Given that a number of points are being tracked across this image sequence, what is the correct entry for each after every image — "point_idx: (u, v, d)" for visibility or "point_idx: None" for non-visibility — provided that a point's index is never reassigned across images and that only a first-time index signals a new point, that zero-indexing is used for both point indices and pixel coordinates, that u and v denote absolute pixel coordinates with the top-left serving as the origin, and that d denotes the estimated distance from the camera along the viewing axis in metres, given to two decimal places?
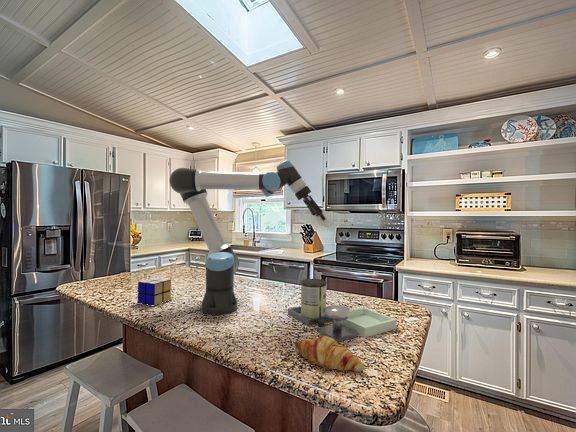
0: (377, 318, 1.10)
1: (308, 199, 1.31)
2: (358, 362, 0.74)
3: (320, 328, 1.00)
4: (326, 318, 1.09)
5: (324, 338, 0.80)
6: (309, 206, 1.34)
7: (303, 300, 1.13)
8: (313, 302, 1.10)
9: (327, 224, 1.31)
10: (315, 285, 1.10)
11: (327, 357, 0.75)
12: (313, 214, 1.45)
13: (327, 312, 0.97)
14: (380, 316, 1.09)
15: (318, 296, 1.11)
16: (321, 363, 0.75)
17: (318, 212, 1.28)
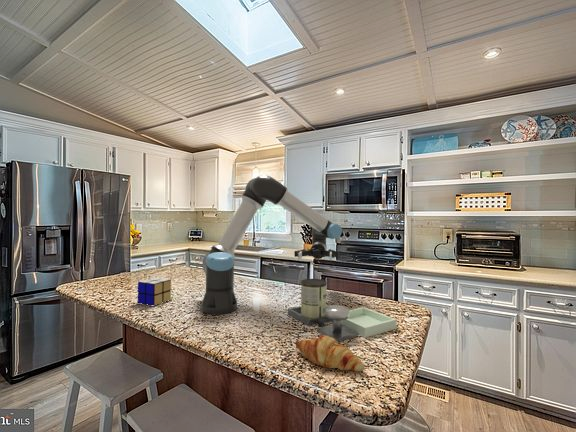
0: (377, 318, 1.10)
1: None
2: (358, 362, 0.74)
3: (320, 328, 1.00)
4: (326, 318, 1.09)
5: (324, 338, 0.80)
6: (324, 249, 1.36)
7: (303, 300, 1.13)
8: (313, 302, 1.10)
9: (331, 256, 1.24)
10: (315, 285, 1.10)
11: (327, 357, 0.75)
12: (301, 251, 1.33)
13: (327, 312, 0.97)
14: (380, 316, 1.09)
15: (318, 296, 1.11)
16: (321, 363, 0.75)
17: None
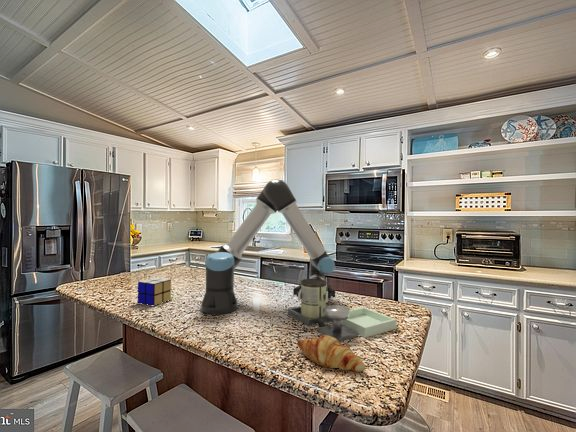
0: (377, 318, 1.10)
1: (330, 287, 1.25)
2: (359, 362, 0.74)
3: (320, 328, 1.00)
4: (326, 318, 1.09)
5: (326, 337, 0.80)
6: None
7: (303, 300, 1.13)
8: (313, 302, 1.10)
9: (327, 298, 1.11)
10: (315, 285, 1.10)
11: (328, 356, 0.76)
12: (300, 289, 1.19)
13: (327, 312, 0.97)
14: (380, 316, 1.09)
15: (318, 296, 1.11)
16: (322, 362, 0.76)
17: None
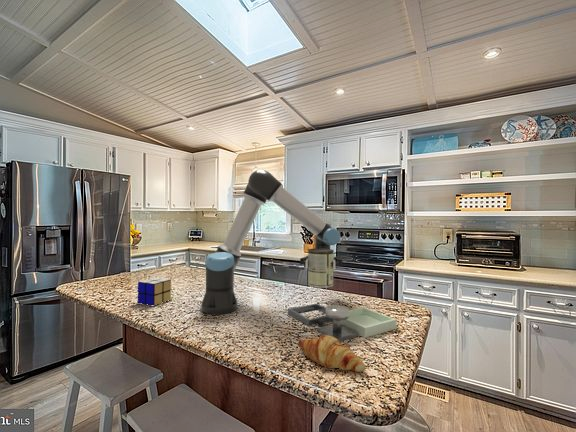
0: (377, 318, 1.10)
1: None
2: (359, 362, 0.74)
3: (320, 328, 1.00)
4: (326, 318, 1.09)
5: (326, 337, 0.80)
6: None
7: (310, 268, 1.12)
8: (320, 269, 1.10)
9: (335, 265, 1.10)
10: (322, 252, 1.10)
11: (328, 356, 0.76)
12: (307, 259, 1.19)
13: (327, 312, 0.97)
14: (380, 316, 1.09)
15: (326, 263, 1.10)
16: (322, 362, 0.76)
17: None
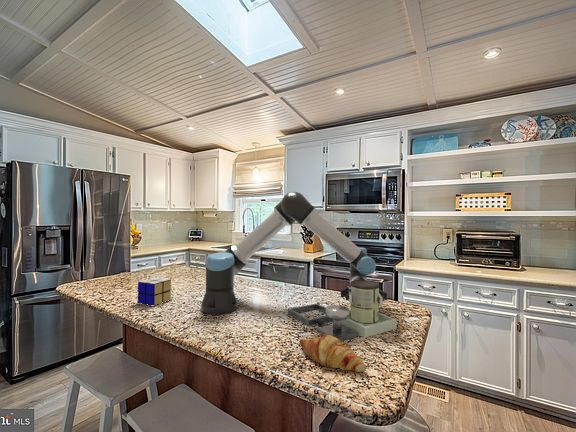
0: None
1: None
2: (359, 363, 0.74)
3: (320, 328, 1.00)
4: (326, 318, 1.09)
5: (327, 337, 0.80)
6: None
7: (354, 303, 1.04)
8: (366, 305, 1.02)
9: None
10: (369, 287, 1.01)
11: (328, 356, 0.76)
12: (349, 292, 1.10)
13: (327, 312, 0.97)
14: (380, 316, 1.09)
15: (372, 299, 1.02)
16: (322, 362, 0.76)
17: (386, 294, 1.09)
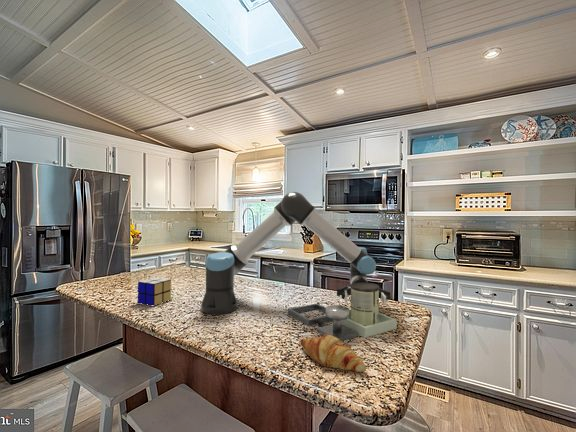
0: None
1: None
2: (359, 363, 0.74)
3: (320, 328, 1.00)
4: (326, 318, 1.09)
5: (327, 337, 0.80)
6: None
7: (354, 306, 1.04)
8: (366, 308, 1.02)
9: (385, 300, 1.03)
10: (369, 289, 1.01)
11: (328, 356, 0.76)
12: None
13: (327, 312, 0.97)
14: (380, 316, 1.09)
15: (372, 301, 1.02)
16: (322, 361, 0.76)
17: None
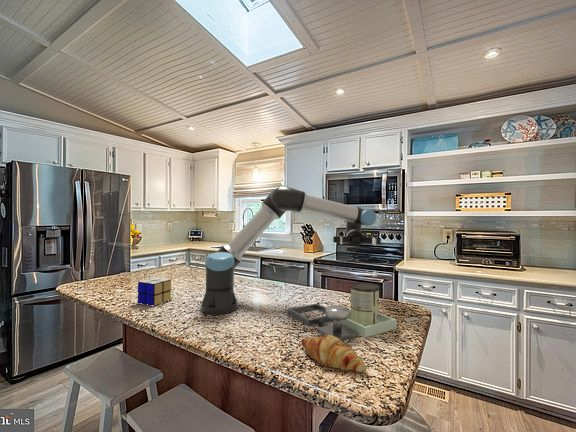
0: None
1: None
2: (360, 363, 0.74)
3: (320, 328, 1.00)
4: (326, 318, 1.09)
5: (328, 337, 0.80)
6: (364, 236, 1.29)
7: (355, 306, 1.04)
8: (366, 308, 1.02)
9: (375, 242, 1.17)
10: (369, 289, 1.01)
11: (329, 356, 0.76)
12: (340, 237, 1.26)
13: (327, 312, 0.97)
14: (380, 316, 1.09)
15: (372, 301, 1.02)
16: (323, 361, 0.76)
17: (380, 239, 1.24)
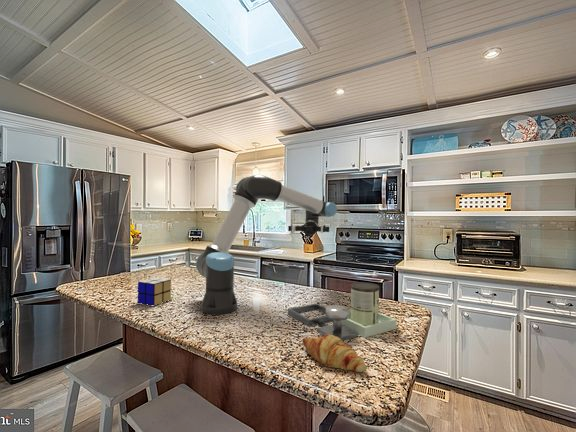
0: None
1: None
2: (360, 363, 0.74)
3: (320, 328, 1.00)
4: (326, 318, 1.09)
5: (329, 337, 0.81)
6: (316, 225, 1.45)
7: (355, 306, 1.04)
8: (366, 308, 1.02)
9: (322, 230, 1.33)
10: (369, 289, 1.01)
11: (329, 355, 0.76)
12: (294, 226, 1.42)
13: (327, 312, 0.97)
14: (380, 316, 1.09)
15: (372, 301, 1.02)
16: (323, 361, 0.76)
17: None
